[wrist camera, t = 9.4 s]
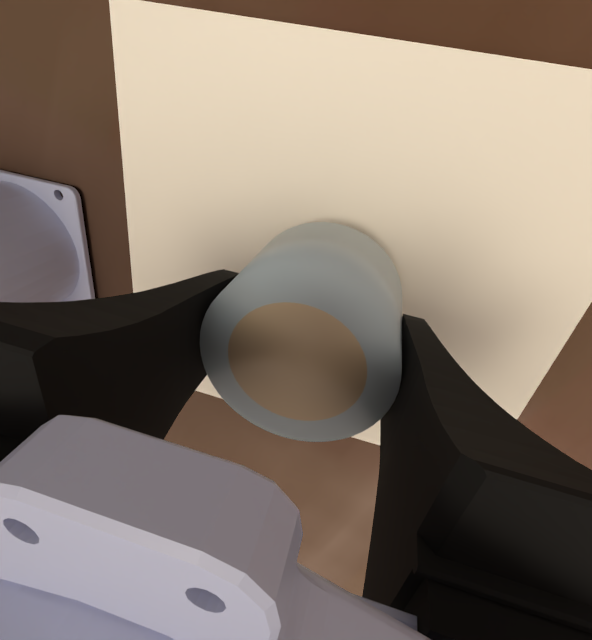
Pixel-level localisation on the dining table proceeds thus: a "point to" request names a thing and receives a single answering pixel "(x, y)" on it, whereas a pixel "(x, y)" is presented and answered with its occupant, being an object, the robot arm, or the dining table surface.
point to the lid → (365, 172)
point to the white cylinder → (309, 335)
